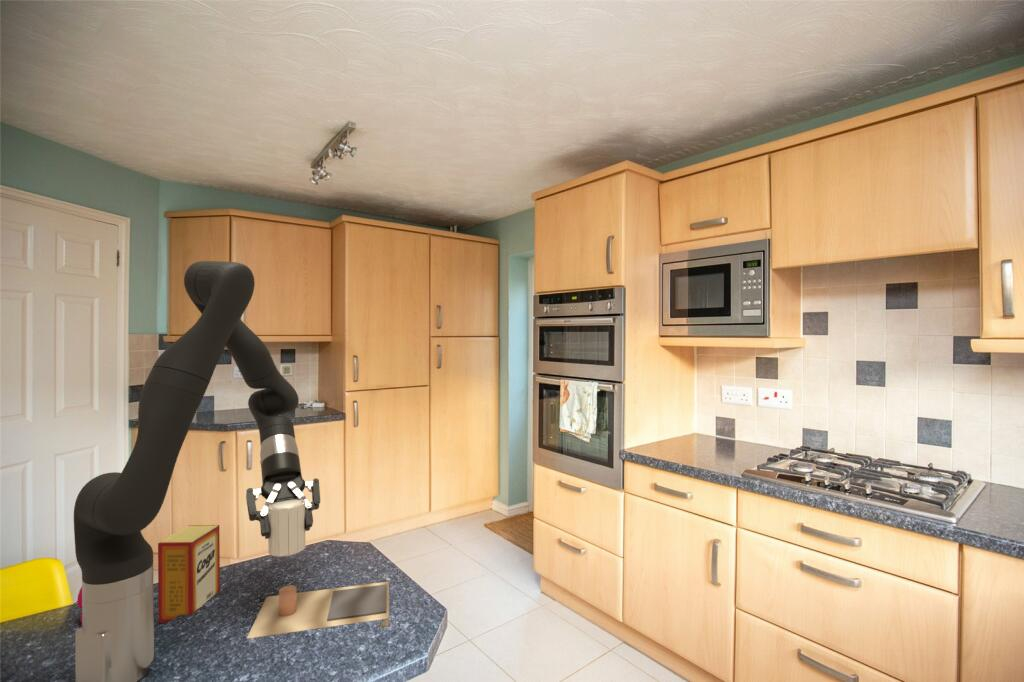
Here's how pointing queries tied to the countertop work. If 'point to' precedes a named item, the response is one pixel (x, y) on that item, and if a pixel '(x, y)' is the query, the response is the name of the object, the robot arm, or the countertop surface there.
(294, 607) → the peach rounded knob
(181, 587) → the red cream cardboard box
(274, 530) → the cover cup
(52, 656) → the countertop surface
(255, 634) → the board
